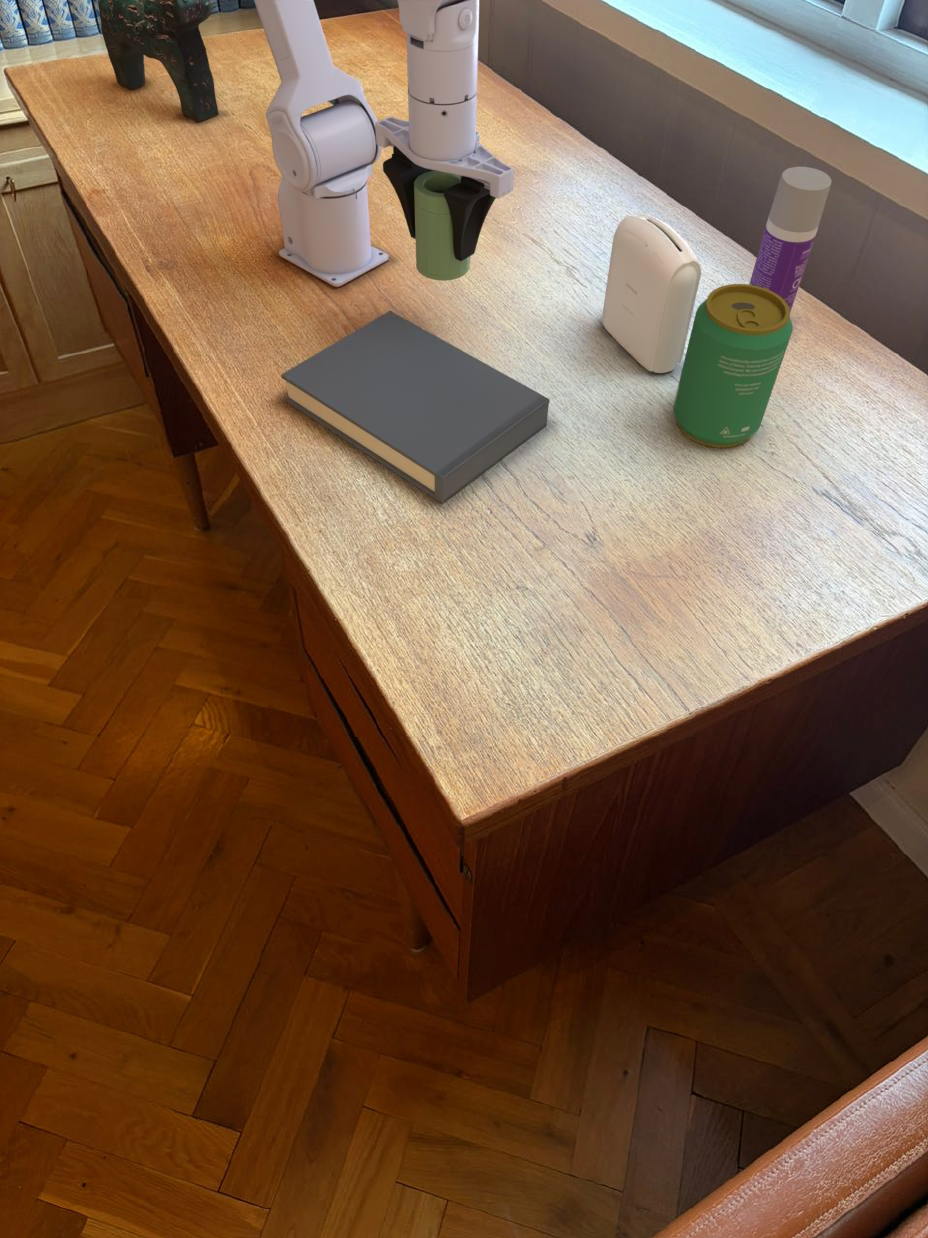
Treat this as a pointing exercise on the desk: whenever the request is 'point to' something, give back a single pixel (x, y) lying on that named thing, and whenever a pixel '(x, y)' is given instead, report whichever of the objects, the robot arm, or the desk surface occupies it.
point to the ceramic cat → (161, 47)
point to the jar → (435, 228)
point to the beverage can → (731, 364)
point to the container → (791, 231)
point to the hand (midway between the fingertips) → (442, 244)
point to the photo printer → (650, 291)
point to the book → (416, 404)
